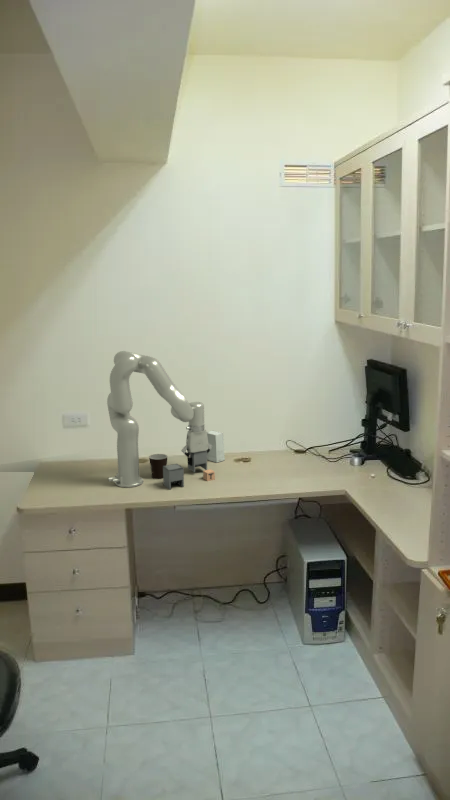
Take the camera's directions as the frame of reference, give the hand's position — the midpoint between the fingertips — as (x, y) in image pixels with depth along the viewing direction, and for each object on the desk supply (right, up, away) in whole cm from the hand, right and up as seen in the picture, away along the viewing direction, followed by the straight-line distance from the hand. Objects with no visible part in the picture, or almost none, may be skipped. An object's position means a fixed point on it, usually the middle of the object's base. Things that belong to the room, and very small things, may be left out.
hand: (197, 463), depth 281 cm
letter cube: (+6, -6, -9) cm, 13 cm away
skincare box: (+8, -1, +19) cm, 21 cm away
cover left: (-10, -8, -18) cm, 22 cm away
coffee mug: (-18, -6, -4) cm, 19 cm away
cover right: (0, -3, +1) cm, 3 cm away
